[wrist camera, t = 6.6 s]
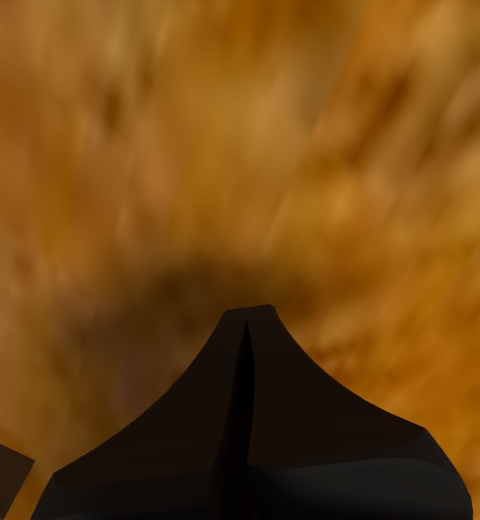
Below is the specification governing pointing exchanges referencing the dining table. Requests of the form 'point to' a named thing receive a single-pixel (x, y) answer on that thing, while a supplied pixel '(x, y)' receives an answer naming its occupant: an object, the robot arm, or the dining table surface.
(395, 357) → the dining table surface
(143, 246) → the dining table surface
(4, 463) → the press housing
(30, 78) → the dining table surface
